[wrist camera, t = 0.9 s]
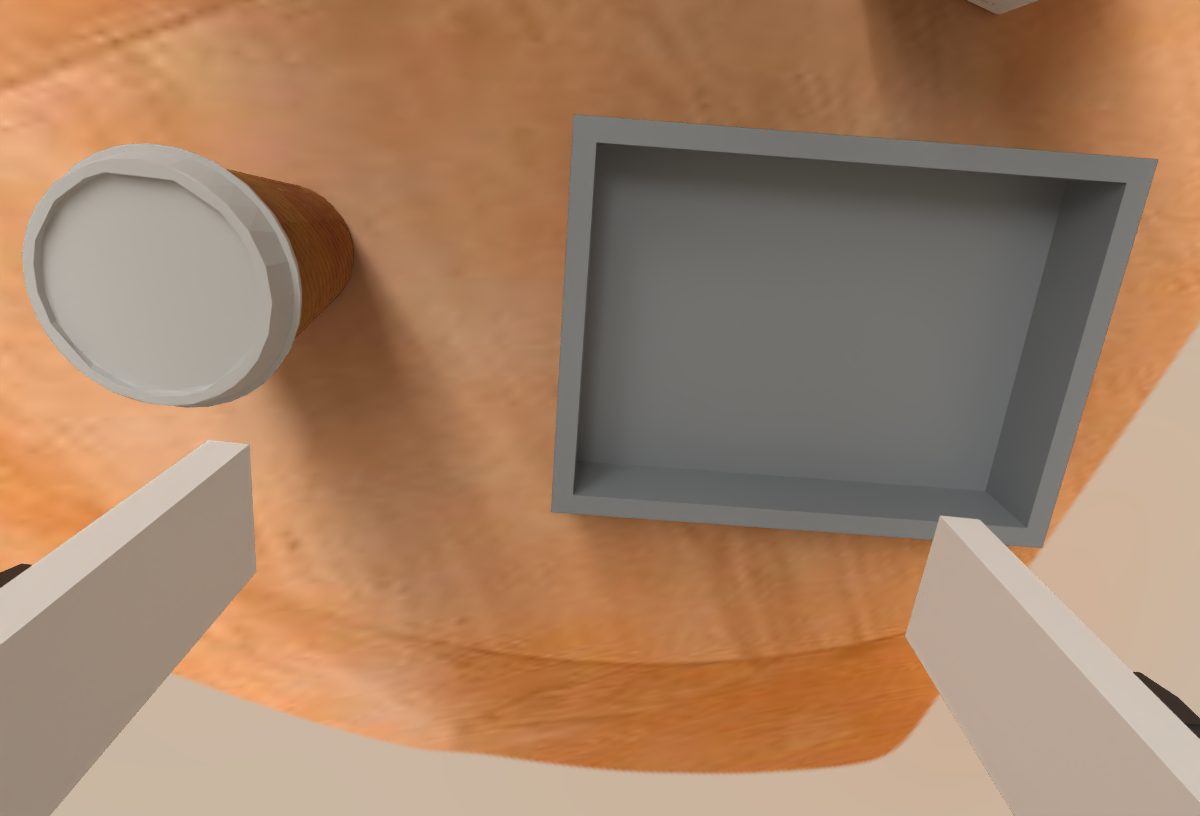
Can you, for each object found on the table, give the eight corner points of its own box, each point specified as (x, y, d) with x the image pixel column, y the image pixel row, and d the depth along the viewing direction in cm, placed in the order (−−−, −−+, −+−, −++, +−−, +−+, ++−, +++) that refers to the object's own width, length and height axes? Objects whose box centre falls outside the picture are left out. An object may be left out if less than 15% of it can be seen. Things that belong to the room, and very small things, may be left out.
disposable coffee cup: (422, 228, 36) (335, 258, 25) (327, 376, 39) (209, 466, 28) (250, 105, 35) (74, 78, 23) (163, 269, 37) (-35, 317, 26)
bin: (578, 120, 35) (573, 114, 30) (1084, 159, 35) (1158, 159, 30) (558, 470, 40) (551, 512, 36) (991, 502, 41) (1042, 548, 36)
